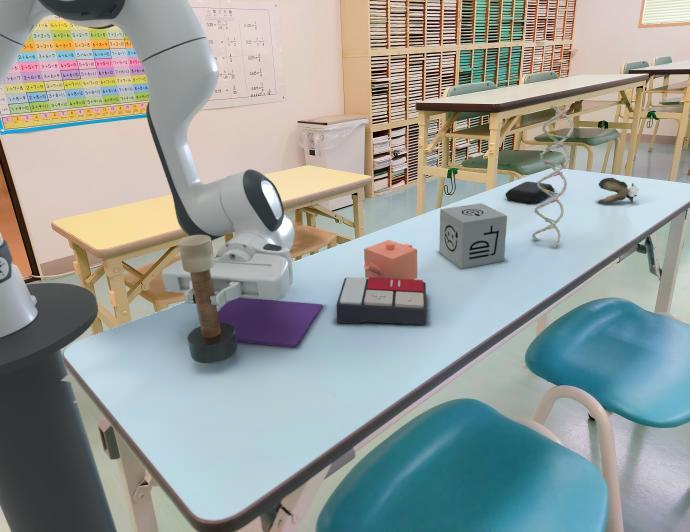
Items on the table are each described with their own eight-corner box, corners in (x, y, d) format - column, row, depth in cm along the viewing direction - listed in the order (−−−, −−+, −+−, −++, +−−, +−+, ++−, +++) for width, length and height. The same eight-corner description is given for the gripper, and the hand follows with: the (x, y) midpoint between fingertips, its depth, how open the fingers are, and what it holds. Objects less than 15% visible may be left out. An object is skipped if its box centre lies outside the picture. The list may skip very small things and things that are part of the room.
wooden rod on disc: (181, 361, 77) (157, 248, 70) (205, 336, 83) (185, 230, 76) (224, 365, 75) (204, 250, 68) (245, 340, 81) (228, 232, 74)
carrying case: (538, 206, 143) (559, 194, 153) (539, 195, 142) (560, 183, 152) (502, 200, 150) (524, 189, 160) (503, 190, 148) (525, 179, 158)
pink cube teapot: (353, 286, 102) (351, 247, 99) (396, 268, 109) (395, 231, 106) (380, 299, 96) (379, 257, 93) (424, 279, 103) (424, 240, 100)
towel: (195, 337, 87) (194, 334, 87) (232, 299, 99) (232, 296, 99) (296, 347, 82) (295, 344, 82) (322, 307, 95) (322, 304, 94)
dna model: (567, 246, 115) (584, 105, 104) (543, 250, 114) (558, 108, 102) (547, 236, 121) (561, 103, 110) (524, 241, 119) (536, 105, 108)
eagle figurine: (626, 192, 146) (594, 187, 147) (639, 175, 140) (606, 170, 141) (629, 213, 142) (596, 208, 143) (643, 196, 136) (609, 191, 137)
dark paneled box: (426, 305, 85) (336, 300, 87) (425, 328, 87) (336, 323, 88) (425, 277, 95) (344, 273, 97) (424, 298, 97) (344, 294, 98)
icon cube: (503, 260, 110) (507, 215, 106) (461, 268, 107) (463, 222, 103) (479, 245, 118) (481, 203, 114) (439, 252, 116) (440, 209, 112)
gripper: (185, 242, 88) (135, 276, 76) (298, 248, 83) (264, 285, 71) (191, 276, 91) (144, 314, 79) (301, 283, 86) (269, 325, 73)
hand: (202, 300), depth 75 cm, fingers closed on wooden rod on disc, 3 cm apart
